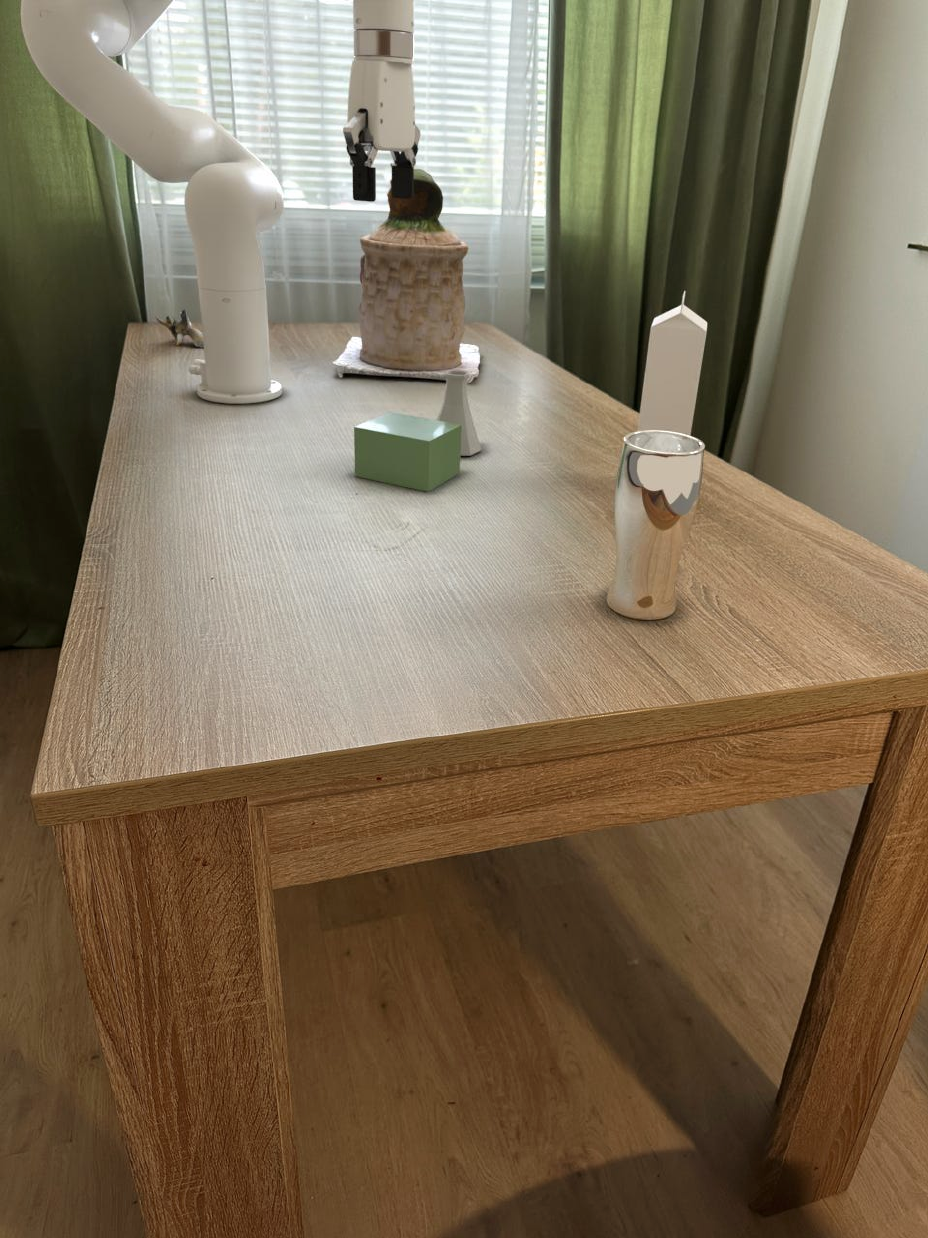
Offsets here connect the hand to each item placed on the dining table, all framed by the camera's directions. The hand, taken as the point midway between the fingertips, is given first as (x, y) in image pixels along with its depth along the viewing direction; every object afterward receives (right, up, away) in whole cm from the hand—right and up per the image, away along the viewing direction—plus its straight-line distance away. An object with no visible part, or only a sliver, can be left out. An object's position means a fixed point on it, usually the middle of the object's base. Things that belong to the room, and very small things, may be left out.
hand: (384, 199), depth 124 cm
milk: (+34, -40, -13) cm, 54 cm away
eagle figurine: (-41, -5, +47) cm, 63 cm away
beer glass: (+27, -55, -41) cm, 74 cm away
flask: (+9, -34, -3) cm, 36 cm away
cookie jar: (+1, -12, +39) cm, 41 cm away
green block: (+4, -39, -13) cm, 41 cm away
